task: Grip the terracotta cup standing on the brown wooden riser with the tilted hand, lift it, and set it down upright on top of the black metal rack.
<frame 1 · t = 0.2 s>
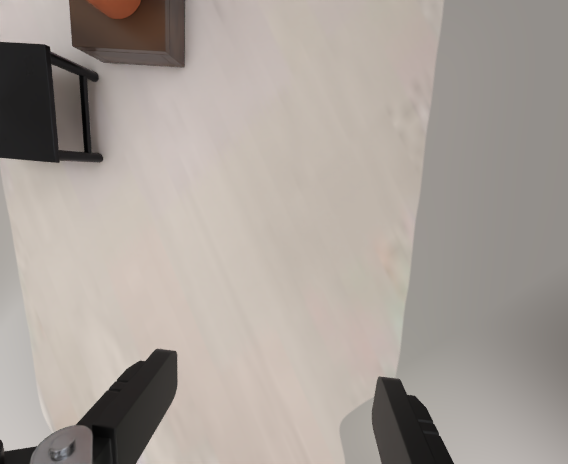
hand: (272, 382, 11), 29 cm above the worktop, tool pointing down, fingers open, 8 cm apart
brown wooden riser: (142, 12, 36), on the worktop
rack: (60, 115, 39), on the worktop
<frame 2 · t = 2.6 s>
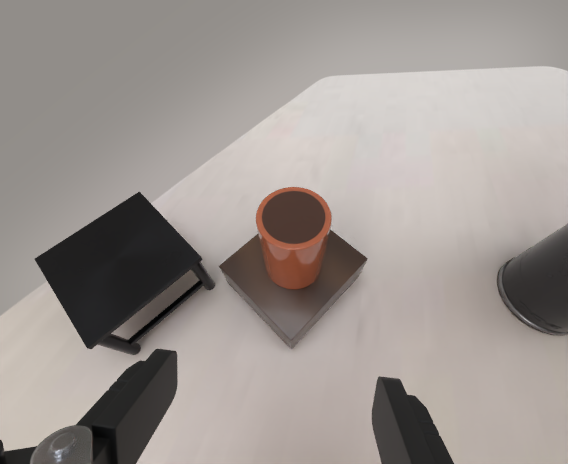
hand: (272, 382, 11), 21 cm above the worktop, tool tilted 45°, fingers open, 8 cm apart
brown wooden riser: (293, 279, 35), on the worktop
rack: (151, 285, 35), on the worktop
cup: (293, 262, 31), point 5 cm above the worktop, touching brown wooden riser
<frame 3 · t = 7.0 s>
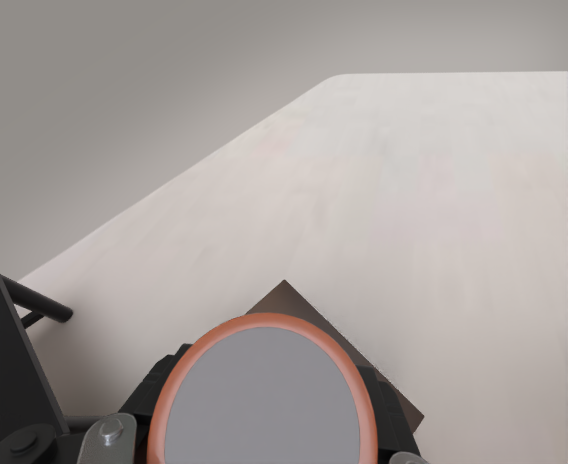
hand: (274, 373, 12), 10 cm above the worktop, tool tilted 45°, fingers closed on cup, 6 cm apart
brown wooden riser: (276, 418, 20), on the worktop
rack: (17, 422, 19), on the worktop
cup: (274, 419, 15), point 5 cm above the worktop, touching gripper, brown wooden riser
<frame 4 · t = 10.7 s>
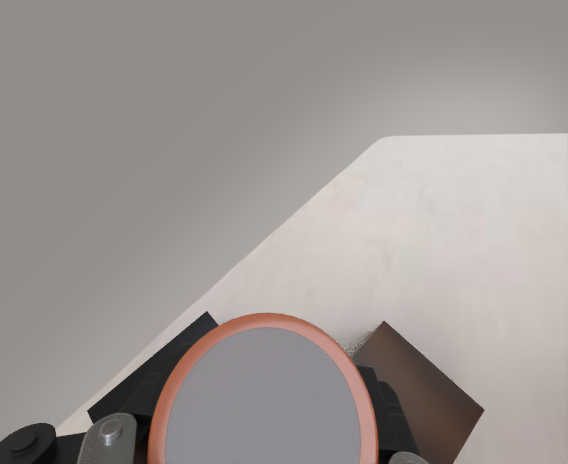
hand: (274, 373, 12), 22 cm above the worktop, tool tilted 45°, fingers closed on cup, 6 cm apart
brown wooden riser: (379, 411, 30), on the worktop
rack: (211, 413, 30), on the worktop
cup: (274, 419, 15), point 17 cm above the worktop, touching gripper
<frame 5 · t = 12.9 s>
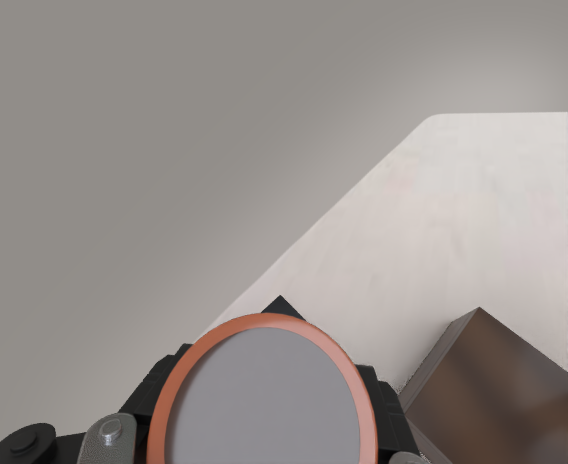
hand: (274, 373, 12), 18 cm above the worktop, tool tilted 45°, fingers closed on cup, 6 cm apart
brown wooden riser: (474, 412, 26), on the worktop
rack: (279, 415, 26), on the worktop
cup: (274, 419, 15), point 12 cm above the worktop, touching gripper
when the fingers open (13 cm above the worktop, at t = 14.7 s): cup stays where it is, resting on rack.
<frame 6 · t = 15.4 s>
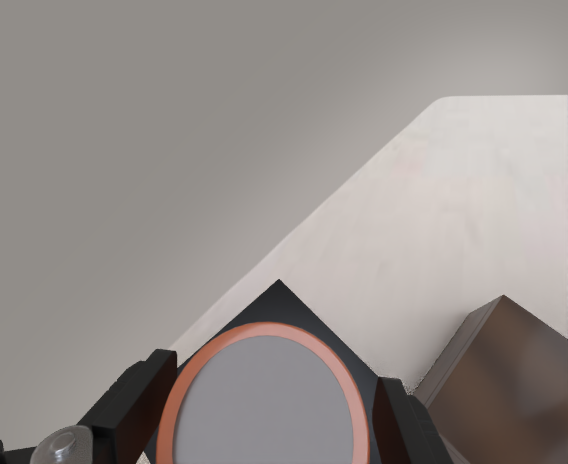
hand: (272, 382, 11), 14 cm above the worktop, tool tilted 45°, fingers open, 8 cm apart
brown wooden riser: (498, 413, 23), on the worktop
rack: (277, 417, 23), on the worktop
cup: (273, 421, 16), point 8 cm above the worktop, touching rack
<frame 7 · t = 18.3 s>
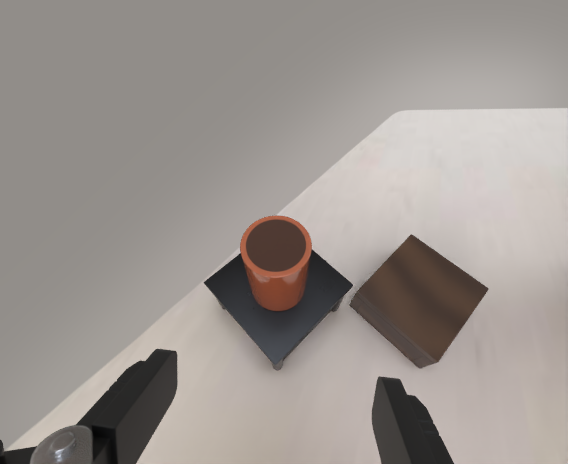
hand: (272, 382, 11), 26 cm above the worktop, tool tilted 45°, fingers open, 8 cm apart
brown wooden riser: (408, 303, 39), on the worktop
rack: (279, 306, 39), on the worktop
cup: (278, 284, 32), point 8 cm above the worktop, touching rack
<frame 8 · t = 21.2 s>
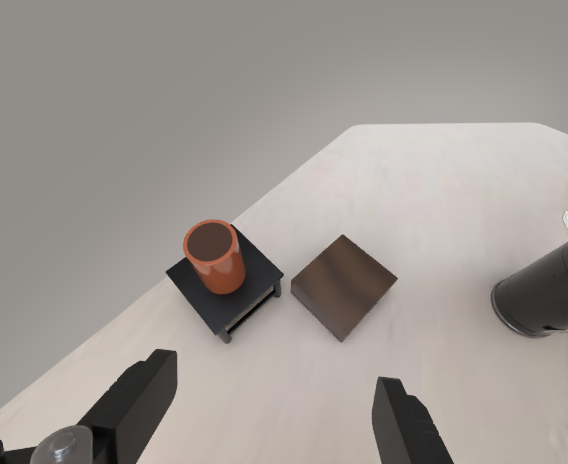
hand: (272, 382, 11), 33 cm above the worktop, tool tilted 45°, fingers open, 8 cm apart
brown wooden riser: (339, 291, 47), on the worktop
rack: (233, 293, 47), on the worktop
cup: (224, 273, 41), point 8 cm above the worktop, touching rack
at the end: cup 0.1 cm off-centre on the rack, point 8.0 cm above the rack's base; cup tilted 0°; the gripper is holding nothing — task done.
